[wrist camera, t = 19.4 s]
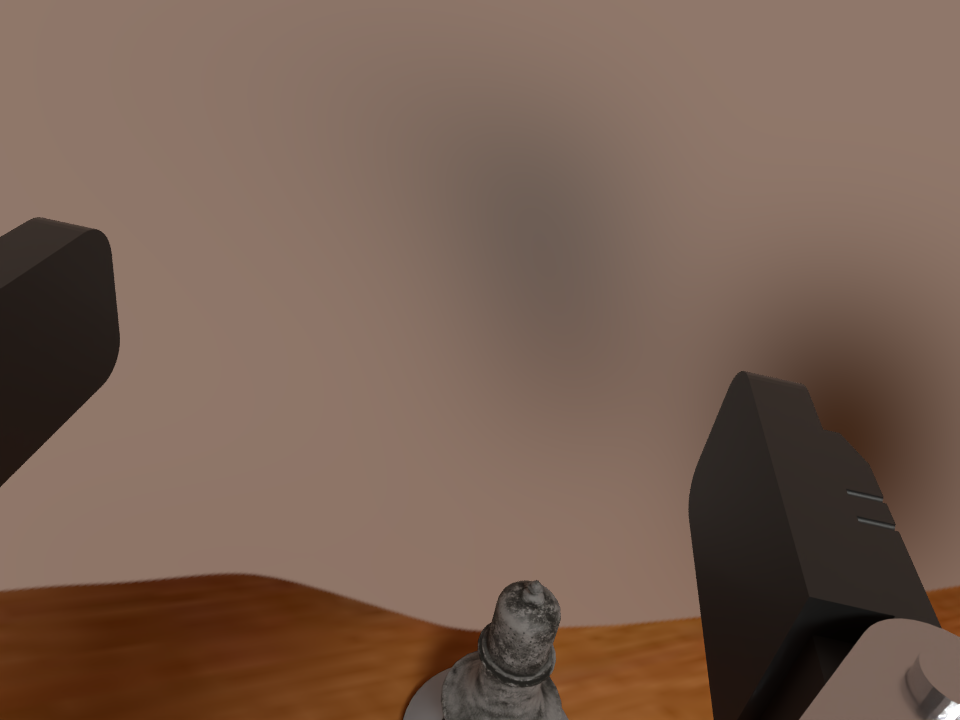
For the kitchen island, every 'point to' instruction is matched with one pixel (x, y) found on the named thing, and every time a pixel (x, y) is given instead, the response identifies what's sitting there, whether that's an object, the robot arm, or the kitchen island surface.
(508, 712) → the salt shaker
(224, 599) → the kitchen island surface
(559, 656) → the kitchen island surface
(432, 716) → the coaster
